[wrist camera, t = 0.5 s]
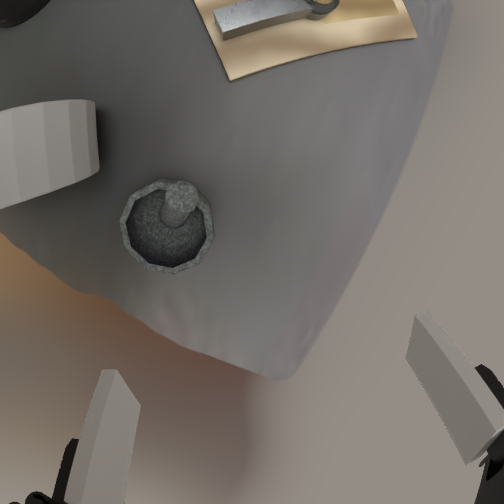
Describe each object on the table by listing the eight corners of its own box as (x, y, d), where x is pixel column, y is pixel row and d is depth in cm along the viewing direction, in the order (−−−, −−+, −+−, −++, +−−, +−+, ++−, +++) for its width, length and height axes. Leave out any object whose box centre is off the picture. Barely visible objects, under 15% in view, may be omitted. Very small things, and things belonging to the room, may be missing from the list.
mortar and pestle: (191, 259, 38) (179, 316, 27) (126, 226, 36) (90, 272, 25) (236, 183, 35) (241, 214, 24) (165, 144, 32) (135, 158, 21)
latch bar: (321, -11, 24) (331, -23, 20) (334, 17, 25) (346, 7, 22) (212, 16, 25) (210, 4, 21) (225, 45, 26) (225, 36, 23)
